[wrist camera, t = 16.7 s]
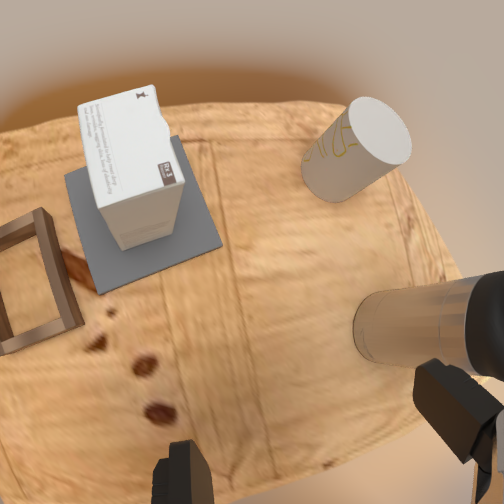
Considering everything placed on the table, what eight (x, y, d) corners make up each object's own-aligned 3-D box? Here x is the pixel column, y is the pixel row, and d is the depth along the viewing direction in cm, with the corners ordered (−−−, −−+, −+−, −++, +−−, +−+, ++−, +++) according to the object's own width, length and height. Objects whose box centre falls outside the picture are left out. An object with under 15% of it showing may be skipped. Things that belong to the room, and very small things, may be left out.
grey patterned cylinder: (315, 136, 40) (360, 84, 29) (362, 169, 41) (416, 129, 30) (290, 178, 38) (338, 129, 27) (343, 214, 39) (403, 180, 28)
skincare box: (103, 184, 31) (70, 101, 17) (154, 167, 33) (153, 77, 19) (123, 256, 30) (90, 210, 16) (178, 237, 32) (188, 177, 18)
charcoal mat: (177, 139, 35) (178, 134, 34) (221, 247, 34) (223, 245, 33) (66, 178, 31) (64, 175, 30) (100, 295, 30) (98, 294, 29)
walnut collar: (51, 216, 30) (41, 206, 26) (85, 324, 29) (75, 325, 25) (-17, 250, 26) (-32, 243, 23) (11, 353, 25) (-3, 356, 22)
